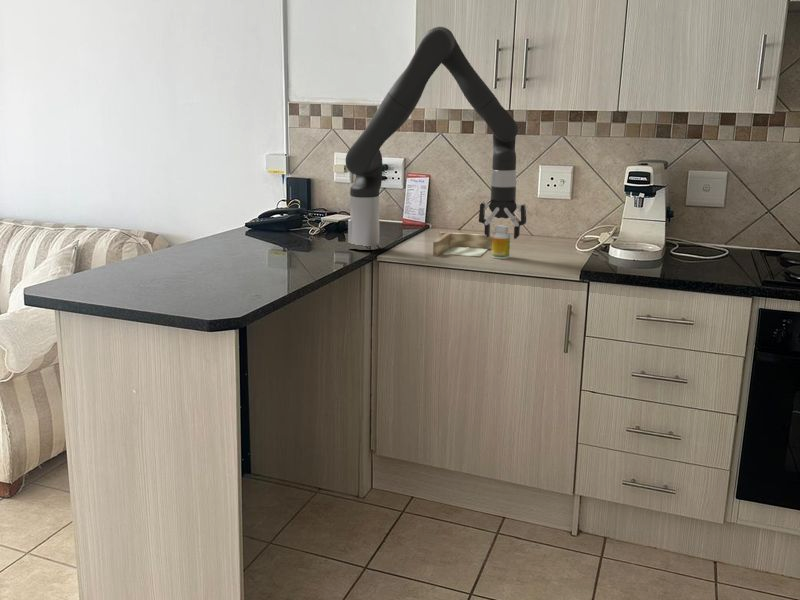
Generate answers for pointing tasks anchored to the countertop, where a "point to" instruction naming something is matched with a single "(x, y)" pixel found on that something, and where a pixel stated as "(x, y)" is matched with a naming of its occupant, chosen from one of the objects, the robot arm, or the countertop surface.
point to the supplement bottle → (501, 243)
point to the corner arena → (462, 244)
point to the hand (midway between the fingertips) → (501, 237)
